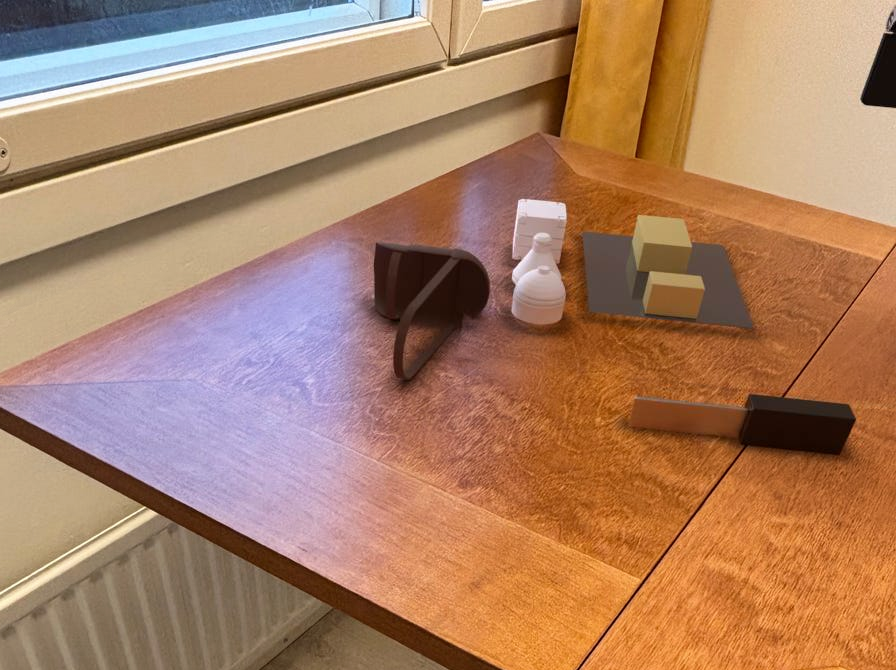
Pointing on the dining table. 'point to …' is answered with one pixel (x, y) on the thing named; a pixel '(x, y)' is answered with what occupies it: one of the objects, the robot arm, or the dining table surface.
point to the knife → (754, 421)
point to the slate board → (623, 286)
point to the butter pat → (673, 294)
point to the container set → (538, 261)
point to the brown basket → (427, 292)
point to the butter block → (661, 244)
